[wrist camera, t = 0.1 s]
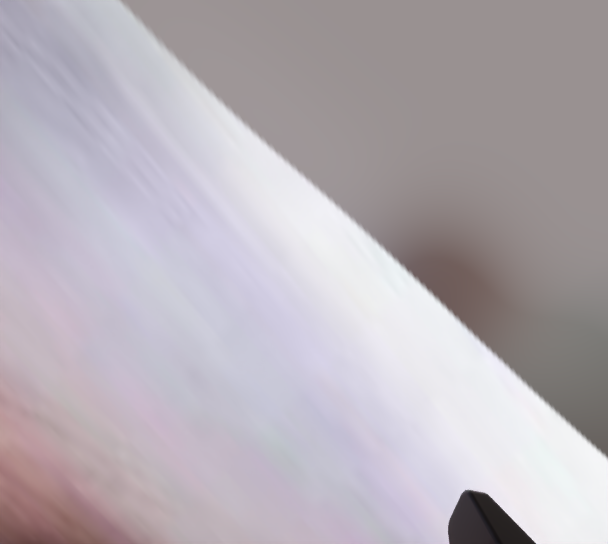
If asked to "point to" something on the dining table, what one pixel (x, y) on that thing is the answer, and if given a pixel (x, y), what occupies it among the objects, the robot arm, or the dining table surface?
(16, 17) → the dining table surface
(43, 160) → the dining table surface
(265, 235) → the dining table surface
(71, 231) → the dining table surface
